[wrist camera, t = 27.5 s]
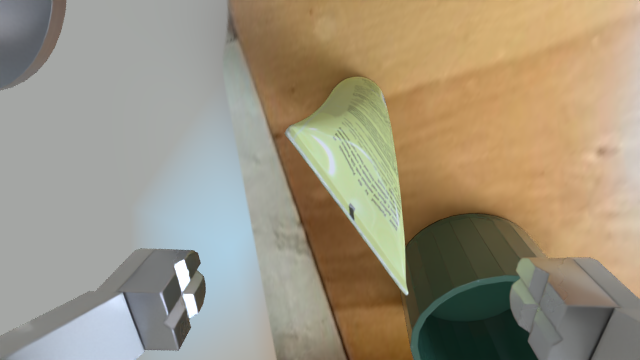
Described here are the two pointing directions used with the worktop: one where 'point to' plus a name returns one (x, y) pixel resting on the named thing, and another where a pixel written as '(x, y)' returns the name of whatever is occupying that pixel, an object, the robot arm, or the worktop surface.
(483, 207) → the worktop surface
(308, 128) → the tube
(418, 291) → the vessel
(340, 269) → the worktop surface
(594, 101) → the worktop surface
